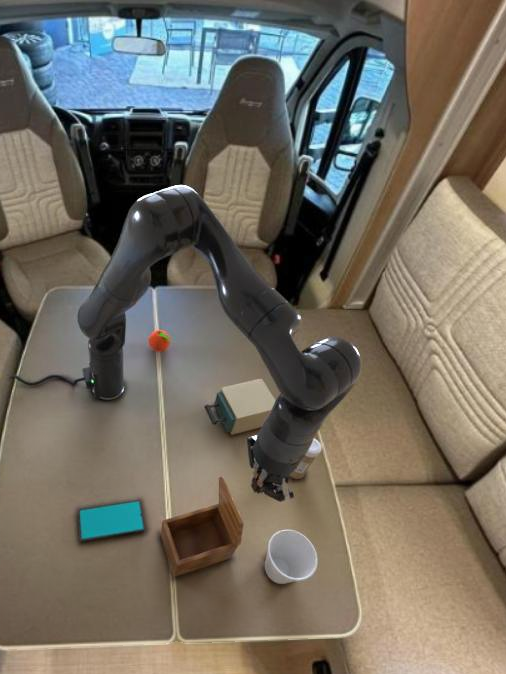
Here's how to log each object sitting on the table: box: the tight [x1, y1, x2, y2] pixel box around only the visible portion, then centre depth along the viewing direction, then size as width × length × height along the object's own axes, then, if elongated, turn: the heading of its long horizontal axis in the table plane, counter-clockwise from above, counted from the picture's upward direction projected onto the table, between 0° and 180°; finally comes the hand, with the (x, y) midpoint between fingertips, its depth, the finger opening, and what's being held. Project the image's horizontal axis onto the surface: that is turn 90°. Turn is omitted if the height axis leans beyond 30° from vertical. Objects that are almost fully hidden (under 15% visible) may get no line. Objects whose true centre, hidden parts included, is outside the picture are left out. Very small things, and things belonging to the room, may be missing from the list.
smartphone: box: [77, 499, 146, 543], centre depth 97 cm, size 7×1×15 cm
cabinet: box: [219, 378, 276, 436], centre depth 116 cm, size 13×11×8 cm
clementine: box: [148, 329, 172, 353], centre depth 132 cm, size 8×7×7 cm
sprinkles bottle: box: [290, 438, 323, 480], centre depth 102 cm, size 5×5×14 cm
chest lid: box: [218, 475, 245, 546], centre depth 83 cm, size 14×10×1 cm
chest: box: [159, 503, 239, 578], centre depth 91 cm, size 14×10×9 cm
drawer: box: [203, 391, 235, 433], centre depth 115 cm, size 16×9×6 cm, turn 107°
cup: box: [264, 529, 319, 585], centre depth 88 cm, size 10×10×11 cm
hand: (257, 488), depth 78 cm, fingers closed
